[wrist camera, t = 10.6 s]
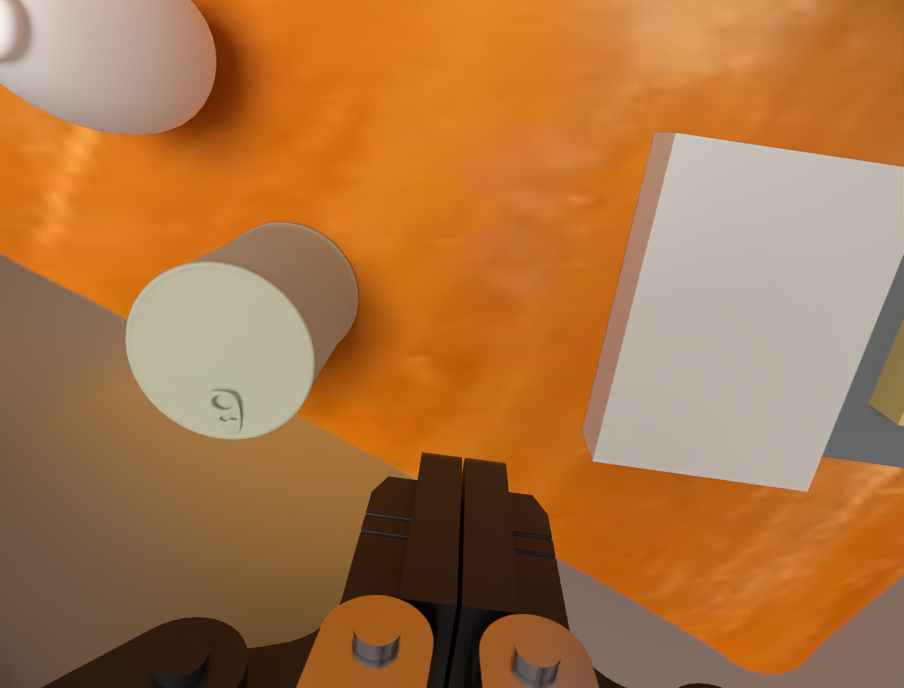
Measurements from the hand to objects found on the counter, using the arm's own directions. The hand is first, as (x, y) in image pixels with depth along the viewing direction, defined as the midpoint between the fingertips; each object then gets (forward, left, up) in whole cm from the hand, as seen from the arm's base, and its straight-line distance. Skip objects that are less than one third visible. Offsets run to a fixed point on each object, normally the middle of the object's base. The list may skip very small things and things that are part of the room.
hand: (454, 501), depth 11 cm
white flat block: (+3, +17, -29) cm, 34 cm away
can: (+6, -11, -29) cm, 32 cm away
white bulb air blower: (-7, -18, -29) cm, 35 cm away
